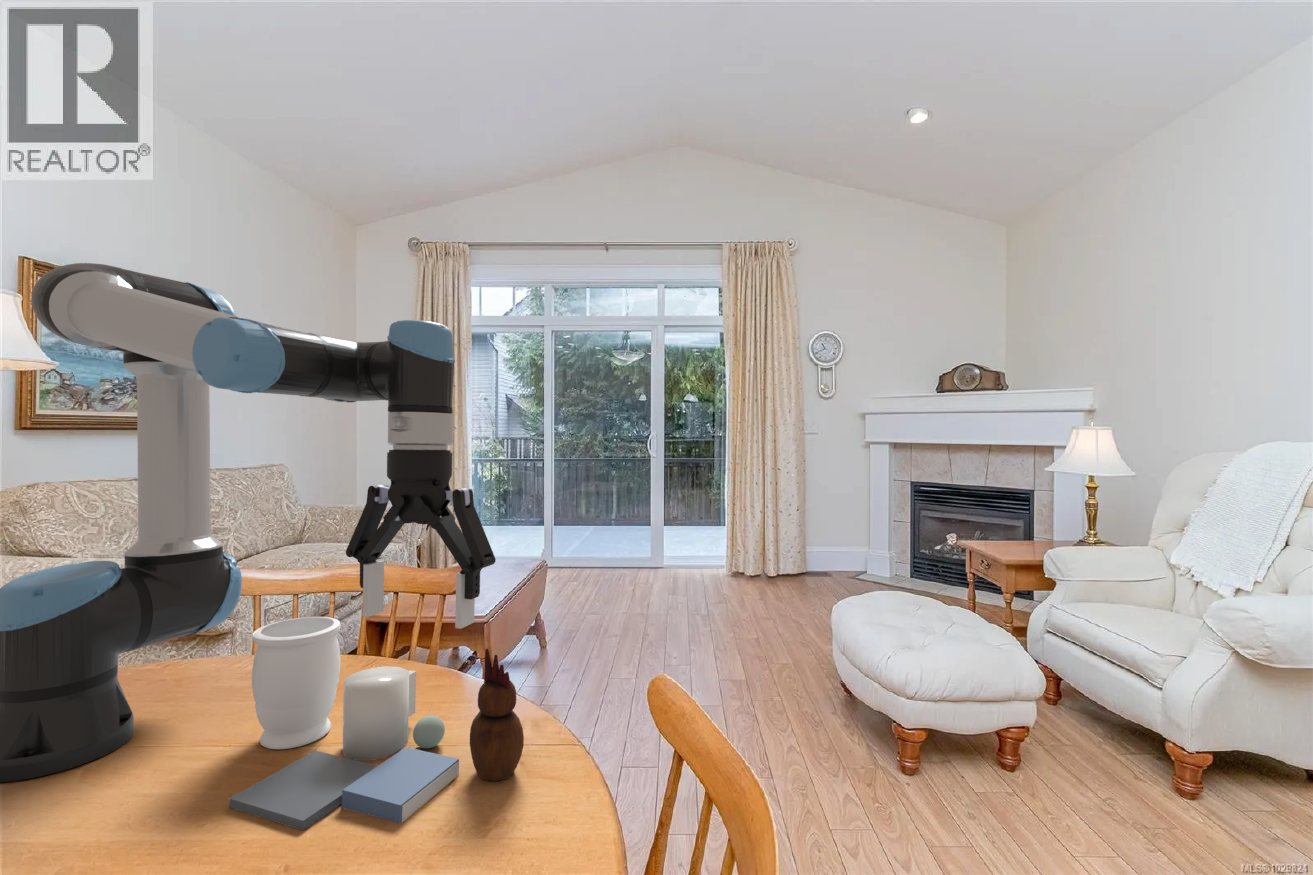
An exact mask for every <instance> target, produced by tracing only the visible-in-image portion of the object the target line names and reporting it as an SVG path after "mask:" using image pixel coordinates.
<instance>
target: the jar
mask: <svg viewBox="0 0 1313 875" xmlns="http://www.w3.org/2000/svg"><path fill="white" fill-rule="evenodd" d="M341 627H342V626H341V620H339V619H337V618H335V617H329V616H306V617H305V616H303V617H298V618H297V617H296V618H290V619H285V620H279V621H276V622H273V623H269V624H266V625H263V626H261V627H259V628H257V629H256V630H254V632H253V633H252V641H253V642H254V644H255V645H257V648H256V650H255V654H254V658H253V662H252V668H251V670H252V671H251V688H252V693H253V699H254V703H255V704H254V705H255V713H256V717H257V720H258V722H259V724H260V727H261V728H262V729H263V732H262V733H261V735H260V737H259V744H260V745H261V746H263V747H264V748H266V749H269V750H270V749H271V750H289V749H294V748H298V747H303V746H306V745H308V744H311V743H314V742H315V741H316V742H317V741H318V740H320V739H322V738H323V737H324V736H326V735H327V734H328V732H330V730H331V728H332V723H331V721H330V719H329V715H330V713H331V711H332V709H333V707H334V703H335V699H336V696H337V689H338V685H339V680H340V679H339V678H340V674H341V673H340V672H341V650H340V648H341V647H340V642H339V639H338V636H337V634H338V633H339V632H340V630H341Z"/></svg>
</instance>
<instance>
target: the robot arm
mask: <svg viewBox="0 0 1313 875" xmlns="http://www.w3.org/2000/svg"><path fill="white" fill-rule="evenodd" d="M30 299H31V300H30V301H31V306H32V310H33V312H34V315H35V317H36V318H37V319H38V321H39V322H40V324H41V325H43V327H45V328H46V330H48V331H49V332H51V333H52V334H54V335H56V337H59V338H62V339H63V340H66V341H69V342H72V343H76V344H78V345H83V346H88V347H92V348H96V349H102V350H111V351H118V352H122V357H123V360H122V361H123V368H124V369H125V370H127V371H128V372H130V373H131V374H132V375H133V376H134V377H135V378H136V389H137V390H136V394H137V395H136V397H137V399H136V400H137V401H136V404H137V405H136V406H137V409H136V410H137V411H136V412H137V414H136V416H137V417H136V418H137V424H136V425H137V428H136V429H137V536H138V537H137V540H136V542H135V543H134V544H133V545H131V546H130V547H129V548H128V549H127V550H126V551H125V552H124V567H123V568H121V567H120V565H119V564H118V563H117V562H115V561H111V560H92V561H85V562H81V563H77V564H76V563H70V564H63V565H59V566H54V567H53V566H52V567H49V568H46V569H40V570H37V571H35V572H30V573H27V574H25V575H22V576H19V577H16V578H14V579H12V580H10V581H9V582H7V583H6V584H4V585H3V586H1V587H0V783H7V782H8V783H9V782H15V781H23V780H29V779H34V778H38V777H39V778H40V777H43V776H48V775H52V774H55V773H59V772H60V773H61V772H63V771H66V770H70V769H72V768H75V767H76V768H77V767H78V766H81V765H84V764H86V763H89V762H92V761H95V760H96V759H99V758H102V757H103V756H106V755H108V754H109V753H111V752H113V751H115V750H117V749H118V748H119V747H121V746H123V745H124V744H125V743H127V742H128V741H129V740H130V739H131V737H133V734H134V730H135V729H134V723H135V722H134V721H135V720H134V712H133V711H132V708H131V707H130V706H131V705H130V704H129V702H128V700H127V698H126V696H125V693H124V690H123V688H122V686H121V683H120V681H119V679H118V678H119V676H118V673H119V672H118V670H119V668H118V667H119V666H118V665H119V655H120V654H123V653H127V652H130V651H134V650H138V649H141V648H142V649H143V648H145V647H149V646H152V645H156V644H157V645H158V644H159V643H163V642H167V641H171V640H173V639H174V640H175V639H178V638H182V637H190V636H194V635H197V634H199V633H201V632H202V631H206V630H208V629H211V628H215V627H218V626H219V625H220V624H222V623H223V622H225V621H226V620H227V619H228V618H229V616H230V615H231V614H232V613H233V612H234V611H235V609H236V607H237V605H238V603H239V600H240V597H241V593H242V588H243V576H242V572H241V569H240V567H237V566H238V562H237V561H236V559H235V557H233V556H232V555H231V554H229V553H225V552H224V545H223V542H222V541H220V540H219V539H218V538H216V537H214V535H213V534H212V533H211V530H212V529H211V526H212V525H211V520H212V519H211V438H210V437H211V434H210V433H211V432H210V430H211V429H210V427H211V425H210V424H211V423H210V421H211V420H210V417H211V416H210V413H211V412H210V411H211V410H210V387H213V388H215V389H221V390H222V389H223V390H230V391H232V392H238V393H242V394H254V393H258V394H259V393H261V394H274V395H286V396H287V395H288V396H299V397H306V398H307V397H309V398H318V399H319V398H320V399H323V400H325V401H331V402H337V403H338V402H339V403H341V402H342V403H347V404H348V403H355V402H369V401H373V402H375V401H387V412H388V413H387V443H388V445H391V446H392V449H389V450H388V452H387V453H386V477H387V478H388V479H389V480H390V486H389V485H388V484H376V485H375V484H374V485H370V486H368V489H367V495H366V503H365V505H364V507H363V510H362V512H361V515H360V516H359V519H358V522H357V525H356V527H355V529H354V531H353V533H352V535H351V538H350V540H349V543H348V545H347V547H346V550H345V554H346V556H347V557H348V558H354V559H356V560H357V562H358V563H359V586H360V588H361V589H362V617H363V618H369V617H372V616H375V615H376V614H381V613H383V612H384V610H385V609H384V606H385V605H384V602H385V598H384V596H385V593H384V590H385V560H380V559H383V556H381V555H382V554H383V553H384V552H385V550H386V549H387V548H388V546H389V545H390V544H391V542H392V541H393V539H394V538H395V537H396V536H397V534H398V533H399V531H400V529H401V528H402V527H403V526H404V525H405V524H412V523H415V524H417V525H429V527H430V528H431V529H433V530H434V531H436V533H437V534H438V536H439V537H440V539H441V540H442V541H443V543H444V545H445V546H446V548H447V549H448V550H449V552H450V554H451V555H452V556H453V558H454V560H455V561H456V563H457V564H458V566H459V567H460V569H461V570H460V571H459V572H456V573H455V623H454V628H455V629H463V628H465V627H467V626H469V625H472V624H473V623H474V624H475V604H476V603H475V600H476V598H478V597H479V596H480V593H481V590H480V589H481V571H482V569H484V568H487V567H490V566H492V565H495V564H496V556H495V555H494V554H495V553H494V551H493V550H492V546H491V544H490V542H489V540H488V537H487V534H486V531H485V530H484V527H483V525H482V522H481V519H480V517H479V515H478V511H477V510H476V506H475V500H474V491H473V489H472V488H471V487H464V488H456V489H453V490H452V489H451V486H450V480H451V478H452V476H453V452H451V451H452V450H450V449H448V446H451V445H453V444H454V434H453V433H454V429H453V428H454V426H453V425H454V414H453V413H454V412H453V407H454V406H453V391H454V390H453V389H454V375H455V374H454V372H455V364H456V358H455V352H454V350H455V349H454V335H453V332H452V330H451V329H450V327H447V326H446V325H445V324H441V323H439V322H435V321H429V320H428V321H427V320H420V319H419V320H418V319H416V320H415V319H404V320H397V321H394V322H393V323H391V324H390V326H389V328H388V329H389V332H388V335H387V337H386V338H387V340H385V341H375V342H374V341H371V342H369V341H368V342H367V341H365V342H364V341H363V342H360V341H353V340H349V339H348V340H347V339H343V338H337V337H333V336H332V337H331V336H328V335H327V336H326V335H321V334H316V333H311V332H305V331H301V330H296V329H293V328H292V329H290V328H287V327H281V326H277V325H272V324H269V323H264V322H260V321H257V320H252V319H249V318H243V317H240V316H237V314H236V311H235V310H234V308H233V306H232V305H231V303H230V302H229V301H227V300H226V298H225V297H224V296H222V295H221V294H220V293H218V292H216V291H215V290H212V289H209V288H205V287H201V286H199V285H196V284H194V283H191V282H184V281H179V280H174V279H169V278H166V277H160V276H156V275H152V274H146V273H141V272H138V271H134V270H129V269H125V268H122V267H118V266H113V265H108V264H102V263H91V262H90V263H89V262H88V263H87V262H82V263H80V262H79V263H78V262H77V263H70V264H65V265H61V266H57V267H55V268H53V269H51V270H48V271H47V272H46V273H44V274H43V275H41V277H39V279H38V280H37V282H36V283H35V284H34V286H33V288H32V291H31V298H30ZM389 502H390V504H391V507H390V508H389V509H388V511H386V510H387V507H388V504H389ZM448 506H452V507H453V510H454V514H453V513H452V511H451V509H450V508H449V507H448ZM385 512H386V513H385ZM384 514H385V515H384ZM454 515H455V516H454ZM382 519H383V521H382ZM456 520H457V522H458V524H457V523H456ZM381 521H382V522H381ZM458 525H459V526H458Z"/></svg>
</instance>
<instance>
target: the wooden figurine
mask: <svg viewBox="0 0 1313 875" xmlns="http://www.w3.org/2000/svg"><path fill="white" fill-rule="evenodd" d="M504 668H505V667H504V664H500V665H499V658H498V655H497V654H494V657H493V662H492V659H491V655H490V650H489V648H486V649H485V653H484V673H483V675H484V678H483V679H484V680H483V683H482V685H480V687H479V690H478V693H477V707H478V709H479V712H478V713H477V714H476V716H475V717H474V718H473V720H472V722H471V725H470V729H469V730H470V731H469V749H470V755H471V759H472V763H473V767H474V769H475V772H476V774H477V775H478V776H479V777H480V778H482V779H483V780H487V781H494V782H497V781H502V780H504V779H506V778H508V777H509V776H511V775H512V774H513V773H514V772H515V771H516V769H517V767H518V765H519V763H520V760H521V757H522V756H523V755H522V754H523V749H524V744H525V743H524V739H525V736H524V729H523V725H522V723H521V721H520V718H519V716H518V715H517V714H516V712H515V711H514V709H515V708H516V705H517V689H516V687H515V684H514V683H513V682H512V680H510V674H509V671H506V672H505V669H504Z"/></svg>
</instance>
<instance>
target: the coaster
mask: <svg viewBox="0 0 1313 875" xmlns="http://www.w3.org/2000/svg"><path fill="white" fill-rule="evenodd" d="M377 766H378V765H377V764H376V765H375V764H372V763H368V762H364V761H361V760H352V759H349V758H347V757H345V756H344V757H343V756H340V755H337V754H332V753H327V752H325V751H320V750H316V749H315V750H314V751H312V752H310V753H309V754H306V755H305V756H303V757H301V758H299V759H297V760H295V761H294V762H292V763H290V764H288V765H286V766H284V767H283V768H281V769H279V770H277V771H276V772H273V773H272V774H270V775H269V776H267V777H265V778H263V779H262V780H259V781H257V782H256V783H255V784H252V785H251V786H248V787H247V788H245V789H243V790H242V791H240V792H238V793H237V794H234V795H233V796H231V797H229V799H228V808H230V809H234V810H235V811H239V812H242V813H246V814H249V815H252V816H255V817H258V818H261V819H265V820H268V821H271V822H275V823H277V824H282V825H284V826H289V827H291V828H294V829H297V830H301V831H304V830H306V829H307V828H309V827H310V826H311V825H313V824H315V822H317V821H319V820H320V819H322V818H323V817H324V816H326V815H328V814H329V813H330V812H333V810H335V809H336V808H338V807H339V806H340V805H341V806H342V790H343V789H345V788H346V787H348V786H349V785H350V784H352V783H353V782H355V781H356V780H358V779H359V778H361V777H362V776H364V775H365V774H367V773H368V772H370V771H371V770H373V769H374V768H376V767H377Z"/></svg>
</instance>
